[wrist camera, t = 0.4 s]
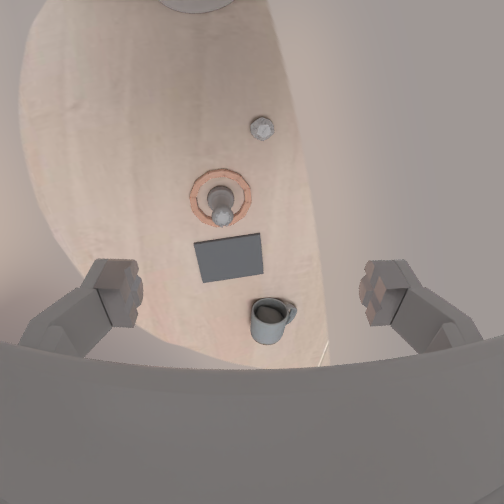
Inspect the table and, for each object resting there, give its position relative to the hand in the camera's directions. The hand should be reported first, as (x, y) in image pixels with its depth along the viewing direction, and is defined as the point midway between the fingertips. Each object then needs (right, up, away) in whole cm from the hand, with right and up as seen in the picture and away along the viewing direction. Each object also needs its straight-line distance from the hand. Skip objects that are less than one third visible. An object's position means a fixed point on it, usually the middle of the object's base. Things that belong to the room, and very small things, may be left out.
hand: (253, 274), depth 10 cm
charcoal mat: (-4, 0, +47) cm, 47 cm away
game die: (+1, +20, +34) cm, 40 cm away
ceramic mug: (+4, -12, +56) cm, 58 cm away
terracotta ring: (-5, +10, +40) cm, 41 cm away
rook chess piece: (-5, +10, +40) cm, 41 cm away
